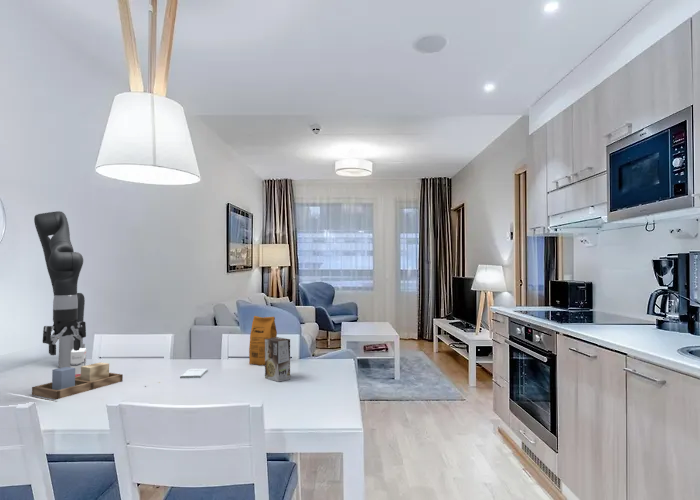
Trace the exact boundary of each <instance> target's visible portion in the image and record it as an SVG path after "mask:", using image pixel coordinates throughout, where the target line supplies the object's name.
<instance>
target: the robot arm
mask: <svg viewBox="0 0 700 500" xmlns="http://www.w3.org/2000/svg"><path fill="white" fill-rule="evenodd" d="M33 221H34V227H35V230H36V233H37V236H38V239H39V241H40V245H41V247H42V251H43V255H44V256H43V257H44V260H45V264H46V269H47V273H48V275H49V279H50V283H51V286H52V292H53V301H52V322H53V325H44V326H43V330H42V344H45V345H46V344H48V354H49V355H50V356H56V355H57V344H56V343H57V342H58V367H57V368H58V369H59V368H63V367H70V356H71V351H72V349H73V348H74V350H75V351H78V350H79V349H80V348H86V344H85V343H83V342H84V341H83V340H84V338H86V337H87V329H86V326H87V325H86V324H87V323H86V321H84V318H85V317H84V315H85V300H86V299H85V295H84V294H83V293H82V292H78V280H79V277H80V273H81V271H82V268H83V265H84V257H83V255H82V254H81V253H79V252H77V251H74V248H73V243H72V241H71V237H70V235H71V233H70V226H69V221H68V218H67V215H66V214H65V213H64V211H60V210H58V211H49V212H42V213H37V214H35V216H34V220H33ZM49 236H51V238H50V237H49ZM52 332H53V333H52Z"/></svg>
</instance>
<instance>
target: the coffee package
mask: <svg viewBox="0 0 700 500" xmlns="http://www.w3.org/2000/svg"><path fill="white" fill-rule="evenodd" d="M275 320H276V317H275V316H264V317H261V316H257V315H254V316H253V320H252V323H251V331H250V334H249V335H250V336H249V347H248V355H249V356H248V357H249V361H248V362H249V363H248V365H258V366H265V339H269V338H274V337H278V336H277V335H278V332H277V326H276V321H275Z"/></svg>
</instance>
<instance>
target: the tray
mask: <svg viewBox="0 0 700 500" xmlns="http://www.w3.org/2000/svg"><path fill="white" fill-rule="evenodd" d="M123 376H124V375H123V374H121V373H115V372H109V377H108V378H104V379H100V380H96V381H92V382H90V381H84V380H81V376H77V377H75V386H73V387H69V388H65V389H61V390H54V389H52V381H51V382H47V383H44V384H39V385H35V386H31V395H32V396H31V398H36V399H41V400H47V401H50V402H51V401H52V402H56V403H57V402H58V400H59V399H63V398H67V397H71V396H74V395H78V394H82V393H85V392H89V391H93V390H96V389H100V388H103V387H107V386H110V385H114V384H117V383H122V382H123V378H124V377H123ZM52 399H54V400H52Z"/></svg>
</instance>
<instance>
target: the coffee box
mask: <svg viewBox="0 0 700 500" xmlns="http://www.w3.org/2000/svg"><path fill="white" fill-rule="evenodd" d="M264 378H265V379H267V380H270V381H275V382H277V383H279V382H283V381H287V380H290V379H291V339H289V338H285V337H278V336H277V337H274V338H269V339H265V365H264Z"/></svg>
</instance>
